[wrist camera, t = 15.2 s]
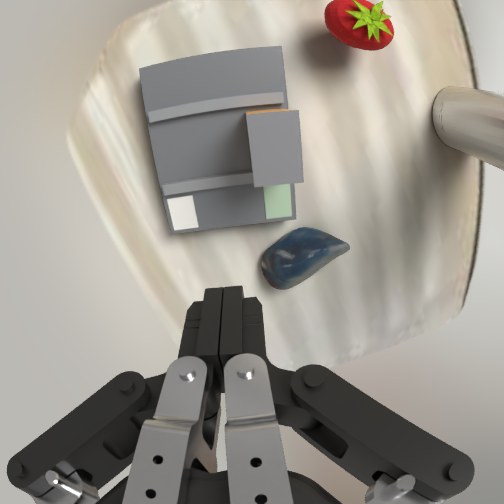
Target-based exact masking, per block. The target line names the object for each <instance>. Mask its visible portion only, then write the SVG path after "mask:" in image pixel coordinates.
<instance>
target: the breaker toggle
mask: <svg viewBox="0 0 504 504" xmlns="http://www.w3.org/2000/svg"><path fill="white" fill-rule="evenodd" d="M246 119H247V128H248V136H249V145H250V153H251V162H252V170H253V179H254V187H262V186H271V185H281V184H291V183H302V182H304V179H303V162H302V146H301V132H300V120H299V110H289V109H285V108H281V109H268V110H257V111H248V112H246Z"/></svg>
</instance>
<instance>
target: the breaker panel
mask: <svg viewBox="0 0 504 504" xmlns="http://www.w3.org/2000/svg"><path fill="white" fill-rule="evenodd" d="M139 72H140V80H141V87H142V93H143V100H144V106H145V112H146V118H147V124H148V129H149V135H150V140H151V145H152V150H153V155H154V160H155V165H156V170H157V175H158V179H159V184H160V188H161V193H162V197H163V201H164V206H165V210H166V214H167V218H168V222H169V226H170V230H171V234H178V233H186V232H193V231H201V230H209V229H217V228H225V227H233V226H241V225H250V224H258V223H267V222H276V221H285V220H294V219H296V205H295V187H294V183H291V184H281V185H271V186H262V187H254V179H253V170H252V162H251V153H250V145H249V136H248V128H247V119H246V112H248V111H257V110H268V109H281V108H285V109H288V100H287V90H286V80H285V71H284V62H283V54H282V46H273V47H258V48H247V49H238V50H229V51H222V52H215V53H208V54H202V55H197V56H191V57H186V58H181V59H176V60H172V61H167V62H163V63H159V64H155V65H151V66H147V67H144V68H140V69H139Z"/></svg>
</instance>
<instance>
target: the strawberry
mask: <svg viewBox="0 0 504 504" xmlns="http://www.w3.org/2000/svg"><path fill="white" fill-rule="evenodd" d="M382 5H383V1H382V2H380V3H378V4H376V5H374V4H372V3H370V2H369V1H366V0H333V1H331V2H330V3H329V4H328V5H327V7H326V8H325V13H324V14H325V23H326V26H327V28H328V29H329V31H330V32H331V33H332V34H333V36H335V37H336V38H337V39H338V40H340V41H341V42H343V43H345V44H347V45H349V46H352V47H355V48H359V49H363V50H379V49H382V48H384V47H386V46H387V45H388V44H389V43H390V42H391V41H392V39H393V36H394V29H393V26H392V23H391V21H390V20H389V18H390V17H391V16H389V15H386V14H385V13H384V12H383V9H382V10H381V8H382Z"/></svg>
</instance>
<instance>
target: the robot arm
mask: <svg viewBox="0 0 504 504" xmlns="http://www.w3.org/2000/svg"><path fill="white" fill-rule="evenodd" d="M433 123H434V127H435V130H436V132H437V134H438V136H439V138H440V139H441V140H442V141H443V142H444V143H445V144H446V145H448V146H450V147H452V148H455V149H457V150H460V151H462V152H464V153H466V154H469V155H471V156H473V157H476V158H478V159H480V160H482V161H485V162H487V163H489V164H491V165H493V166H495V167H497V168H499V169H501V170H504V94H501V93H496V92H490V91H484V90H478V89H471V88H464V87H455V86H451V87H446V88H444V89H443V90H441V91H440V92H439V94H438V95H437V97H436V99H435V101H434V105H433ZM221 393H225V399H226V413H227V414H226V415H227V423H226V424H225V442H226V456H227V469H228V470H226V471H221V472H217V458H216V447H217V440H218V432H219V424H220V416H221V406H220V401H221ZM279 425H284V426H290V427H292V428H293V430H294V431H295V432H297V433H298V434H299V435H300V436H302V437H303V438H304V439H305V440H307V441H308V442H309V443H310V444H311V445H313V446H314V447H315V448H316V449H318V450H319V451H320V452H322V453H323V454H325V455H326V456H327V457H328V458H329V459H331V460H332V461H334V462H335V463H336V464H338V465H339V466H340V467H342V468H343V469H344V470H346V471H347V472H349V473H350V474H351V475H353V476H354V477H355V478H357V479H358V480H360V481H361V482H363V483H364V484H366V485H367V486H369V488H368V490H367V492H366V495H365V503H366V504H443V503H444V502H445V501H446V500H447V499H449V498H451V497H453V496H455V495H456V494H459V493H460V492H462V491H464V490H465V489H466V488H467V487H468V486H469V485H470V483H471V482H472V479H473V476H474V464H473V462H472V460H471V459H470V457H469V456H467V455H466V454H464V453H463V452H461V451H459V450H457V449H455V448H453V447H452V446H450V445H448V444H446V443H445V442H443V441H441V440H439V439H438V438H436V437H434V436H433V435H431V434H429V433H427V432H426V431H424V430H422V429H421V428H419V427H418V426H416V425H414V424H413V423H411V422H409V421H408V420H406V419H404V418H403V417H401V416H400V415H398V414H396V413H395V412H393V411H392V410H390V409H388V408H387V407H385V406H383V405H382V404H380V403H379V402H377V401H376V400H374V399H373V398H371V397H370V396H368V395H366V394H365V393H363V392H362V391H360V390H359V389H357V388H356V387H354V386H353V385H351V384H350V383H348V382H347V381H345V380H344V379H342V378H341V377H339V376H338V375H336V374H335V373H333V372H332V371H330V370H329V369H328V368H326V367H324V366H321V365H306V366H303V367H301V368H299V369H298V370H297V371H296V372H294V371H288V370H283V369H280V368H277V367H276V366H274V365H273V364H271V363H270V361H269V360H268V358H267V356H266V347H265V335H264V323H263V312H262V304H261V303H260V302H259V300H258V299H257V298H256V297H249V298H244V293H243V287H242V286H231V287H220V288H207V289H205V293H204V300H203V301H197V302H193V304H192V305H191V306H190V308H189V309H188V310H187V314H186V319H185V324H184V330H183V334H182V339H181V344H180V349H179V355H178V359H177V360H175V361H174V362H173V363H172V364H171V365H170V366H169V368H168V370H167V372H166V373H164V374H161V375H158V376H154V377H151V378H146V379H144V378H143V376H142V375H140V374H139V373H137V372H133V371H127V372H123V373H121V374H119V375H117V376H116V377H115V378H113V379H112V380H111V381H110V382H108V383H107V384H106V385H105V386H103V387H102V388H101V389H100V390H98V391H97V392H96V393H94V394H93V395H92V396H91V397H89V398H88V399H87V400H85V401H84V402H83V403H82V404H81V405H79V406H78V407H76V408H75V409H74V410H73V411H71V412H70V413H69V414H68V415H66V416H65V417H64V418H62V419H61V420H60V421H59V422H57V423H56V424H55V425H53V426H52V427H51V428H50V429H48V430H47V431H46V432H44V433H43V434H42V435H40V436H39V437H38V438H37V439H35V440H34V441H33V442H31V443H30V444H29V445H27V446H26V447H25V448H24V449H22V450H21V451H20V452H18V453H17V454H16V455H14V456H13V457H12V458H11V459H10V460H9V463H8V465H7V475H8V478H9V481H10V482H11V483H12V484H13V485H14V486H15V487H17V488H19V489H21V490H22V491H24V492H26V493H28V494H29V495H30V496H32V498H33V499H34V501H35V503H36V504H342V503H341V502H340V501H338V500H337V499H336V498H334V497H333V496H332V495H331V494H330V493H328V492H327V491H326V490H325V489H323V488H322V487H321V486H320V485H319V484H317V483H316V482H315V481H313V480H311V479H310V478H308V477H306V476H304V475H301V474H298V473H295V472H292V471H287V467H286V462H285V457H284V451H283V446H282V440H281V435H280V430H279ZM131 463H132V465H131V469H130V473H129V475H128V476H127V477H125V478H124V479H123V480H122V481H120V482H119V483H118V484H117V485H116V486H115V487H114V488H113V489H111V490H110V491H109V492H108V493H107V494H105V495H104V496H103V497H102V498H101V499H100V497H99V496H98V490H99V489H100V488H101V487H103V486H104V485H105V484H106V483H108V482H109V481H110V480H111V479H113V478H114V477H115V476H116V475H118V474H119V473H120V472H121V471H123V470H124V469H125V468H126V467H127V466H129V465H130V464H131Z"/></svg>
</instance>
